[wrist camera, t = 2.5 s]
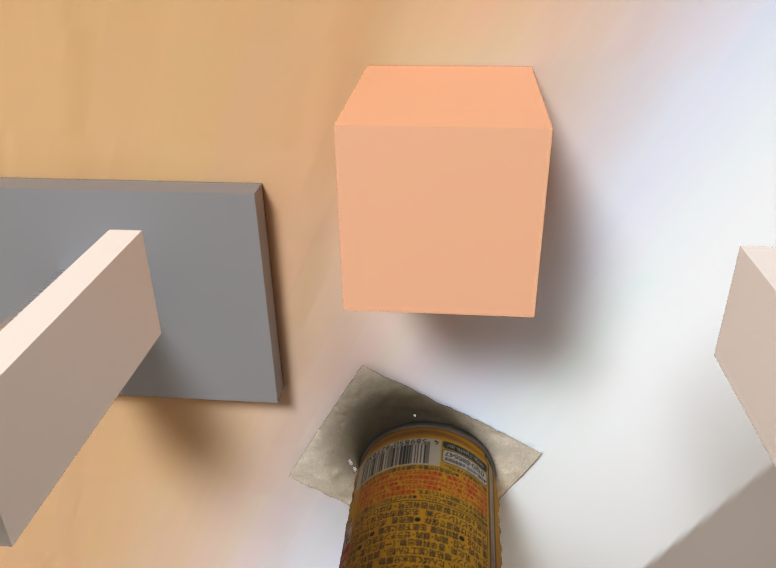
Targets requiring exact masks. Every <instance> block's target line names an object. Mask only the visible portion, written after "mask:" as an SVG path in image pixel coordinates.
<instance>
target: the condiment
mask: <svg viewBox="0 0 776 568" xmlns="http://www.w3.org/2000/svg"><path fill="white" fill-rule="evenodd" d="M413 414H416V417H414V416H413ZM541 454H542V453H540V452H538V451H536V450H534V449H532V448H530V447H528V446H526V445H525V444H523V443H521V442H519V441H517V440H515V439H513V438H511V437H510V436H508V435H506V434H504V433H502V432H499V431H496V430H494V429H493V428H491V427H490V426H488V425H486V424H484V423H482V422H480V421H478V420H476V419H472V418H470V417H469V416H468V415H466V414H463V413H461V412H458V411H456V410H454V409H452V408H450V407H448V406H444V405H441V404H439V403H437V402H435V401H433V400H432V399H430V398H429V397H427V396H425V395H423V394H420V393H418V392H416V391H415V390H413V389H411V388H409V387H407V386H405V385H403V384H401V383H398V382H396V381H393V380H390V379H388V378H385V377H383V376H381V375H380V374H378V373H376V372H374V371H372V370H370V369H368V368H366V367H364V366H362V367H361V368H360V370H359V371H358V373H357V374H356V376H355V377H354V379H353V380H352V381H351V382H350V384H349V386H348V387H347V389H346V390H345V391H344V393H343V394H342V396H341V398H340V399H339V401H338V402H337V404H336V405H335V406H334V408H333V409H332V411H331V412H330V414H329V415H328V417H327V418H326V420H325V421H324V423H323V425H322V426H321V428H320V429H319V431H317V433H316V435H315V437H314V438H313V440H312V441H311V443H310V445H309V446H308V448H307V449H306V451H305V452H304V453H303V455H302V456H301V458H300V460H299V461H298V463H297V465H296V466H295V468H294V469H293V471H292V472H291V474H290V475H289V477H291V478H293V479H295V480H297V481H299V482H301V483H302V484H304V485H307V486H309V487H312V488H315V489H317V490H319V491H321V492H323V493H324V494H326V495H328V496H330V497H333V498H336V499H338V500H341V501H343V502H344V503H346V504H348V505H350V509H349V517H348V521H347V524H346V532H345V539H344V544H343V550H342V555H341V558H340V559H341V560H340V565H339V568H501V565H502V559H501V550H502V549H501V544H500V533H501V529H500V527H499V516H498V512H499V505H500V504H499V499H500V497H501V496H502V495H503V494H504V493H505V492H506V491H507V490H508V489H509V488H510V487H511V485H512V484H513V483H515V482H516V481H517V480H518V479H519V477H521V476H522V475H523V474H524V472H525V471H526V470H527V469H528V468H529V467H530V466H531V465H532V464H533V463H534V462H535V461H536V459H537V458H538V457H539V456H540V455H541ZM349 459H351V461H352V462H353V465H350V464H349V463H348V460H349ZM353 467H356V468H357V471H356V472H354V471H353Z"/></svg>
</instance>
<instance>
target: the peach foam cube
mask: <svg viewBox="0 0 776 568" xmlns="http://www.w3.org/2000/svg"><path fill="white" fill-rule="evenodd" d="M552 132H553V128H552V125H551V122H550V119H549V116H548V113H547V110H546V107H545V104H544V101H543V98H542V95H541V93H540V90H539V87H538V84H537V81H536V78H535V75H534V72H533V69H532V67H513V66H367V68H366V69H365V71H364V73H363V75H362V76H361V78H360V80H359V82H358V83H357V85H356V87H355V89H354V91H353V92H352V94H351V96H350V98H349V99H348V101H347V103H346V105H345V107H344V108H343V110H342V112H341V114H340V115H339V117H338V119H337V121H336V123H335V124H334V137H335V156H336V175H337V194H338V213H339V232H340V251H341V270H342V289H343V308H344V310H356V311H382V312H408V313H434V314H460V315H486V316H512V317H534V315H535V305H536V295H537V285H538V275H539V264H540V254H541V244H542V234H543V224H544V213H545V203H546V193H547V183H548V173H549V162H550V152H551V142H552Z"/></svg>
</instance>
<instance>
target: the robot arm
mask: <svg viewBox="0 0 776 568" xmlns="http://www.w3.org/2000/svg"><path fill="white" fill-rule="evenodd" d="M160 335H161V329H160V324H159V318H158V313H157V308H156V303H155V297H154V292H153V287H152V282H151V276H150V271H149V266H148V261H147V255H146V250H145V245H144V240H143V234H142V230H108V231H107V232H106V233H105V234H104V235H103V236H102V237H101V238H100V239H99V240H98V241H97V242H96V243H94V244H93V245H92V246H91V247H90V248H89V249H88V250H87V251H86V252H85V253H84V254H83V255H82V256H80V257H79V258H78V259H77V260H76V261H75V262H74V263H73V264H72V265H71V266H70V267H69V268H68V269H67V270H65V271H64V272H63V273H62V274H61V275H60V276H59V277H58V278H57V279H56V280H55V281H54V282H53V283H51V284H50V285H49V286H48V287H47V288H46V289H45V290H44V291H43V292H42V293H41V294H40V295H39V296H37V297H36V298H35V299H34V300H33V301H32V302H31V303H30V304H29V305H28V306H27V307H26V308H25V309H23V310H22V311H21V312H20V313H19V314H18V315H17V316H16V317H15V318H14V319H13V320H12V321H11V322H9V323H8V324H7V325H6V326H5V327H4V328H3V329H2V330H1V331H0V546H9V547H12V546H13V545H14V543H15V542H16V541H17V539H18V538H19V536H20V535H21V533H22V532H23V531H24V529H25V528H26V526H27V525H28V523H29V522H30V521H31V519H32V518H33V516H34V515H35V513H36V512H37V511H38V509H39V508H40V506H41V505H42V503H43V502H44V501H45V499H46V498H47V496H48V495H49V493H50V492H51V491H52V489H53V488H54V486H55V485H56V483H57V482H58V481H59V479H60V478H61V476H62V475H63V473H64V472H65V470H66V469H67V468H68V466H69V465H70V463H71V462H72V460H73V459H74V458H75V456H76V455H77V453H78V452H79V450H80V449H81V448H82V446H83V445H84V443H85V442H86V440H87V439H88V438H89V436H90V435H91V433H92V432H93V430H94V429H95V428H96V426H97V425H98V423H99V422H100V420H101V419H102V418H103V416H104V415H105V413H106V412H107V410H108V409H109V408H110V406H111V405H112V403H113V402H114V400H115V399H116V397H117V396H118V395H119V393H120V392H121V390H122V389H123V387H124V386H125V385H126V383H127V382H128V380H129V379H130V377H131V376H132V375H133V373H134V372H135V370H136V369H137V367H138V366H139V365H140V363H141V362H142V360H143V359H144V357H145V356H146V355H147V353H148V352H149V350H150V349H151V347H152V346H153V345H154V343H155V342H156V340H157V339H158V337H159V336H160ZM714 356H715V357H716V359H717V361H718V363H719V365H720V366H721V368H722V370H723V372H724V374H725V376H726V377H727V379H728V381H729V383H730V385H731V386H732V388H733V390H734V392H735V394H736V396H737V397H738V399H739V401H740V403H741V405H742V407H743V408H744V410H745V412H746V414H747V416H748V417H749V419H750V421H751V423H752V425H753V427H754V428H755V430H756V432H757V434H758V436H759V437H760V439H761V441H762V443H763V445H764V447H765V448H766V450H767V452H768V454H769V456H770V457H771V459H772V461H773V463H774V465H775V467H776V247H755V246H740V249H739V253H738V258H737V262H736V266H735V270H734V274H733V278H732V283H731V287H730V291H729V295H728V299H727V304H726V308H725V312H724V316H723V320H722V324H721V329H720V333H719V337H718V341H717V345H716V350H715V354H714Z"/></svg>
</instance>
